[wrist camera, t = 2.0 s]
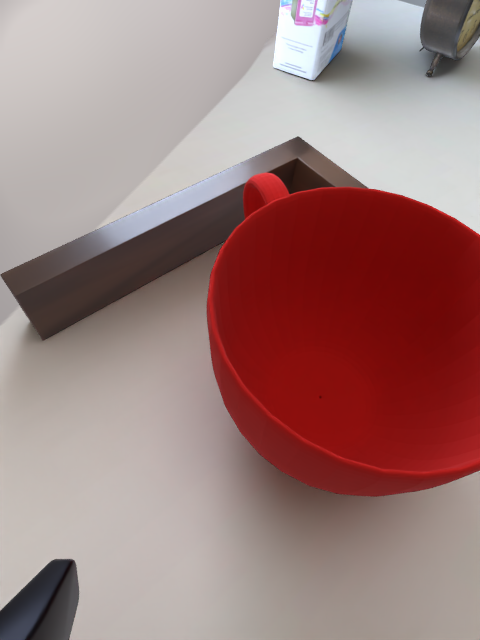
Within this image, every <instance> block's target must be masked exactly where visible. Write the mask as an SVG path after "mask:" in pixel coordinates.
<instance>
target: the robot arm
mask: <svg viewBox="0 0 480 640" xmlns="http://www.w3.org/2000/svg"><path fill="white" fill-rule="evenodd" d="M78 600H79V585H78V576H77V568H76V563H75V561H74V560H72V559H55V560H53V561H51V562H50V563H48V564H47V565H46V566H45V567H44V568H43V569H42V570H41V571H40V572H39V573H38V574H37V575H36V576H35V577H34V578H33V579H32V580H31V581H30V582H29V583H28V584H27V585H26V586H25V587H24V588H23V589H22V590H21V591H20V592H19V593H18V594H17V595H16V596H15V597H14V598H13V599H12V600H11V601H10V602H9V603H8V604H7V605H6V606H5V607H4V608H3V609H2V610H1V611H0V640H69V638H70V634H71V630H72V626H73V622H74V618H75V614H76V610H77V606H78Z"/></svg>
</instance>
